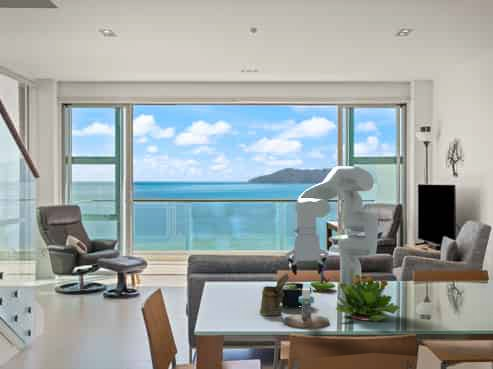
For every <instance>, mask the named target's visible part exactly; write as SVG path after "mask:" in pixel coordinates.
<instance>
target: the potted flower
mask: <svg viewBox="0 0 493 369" xmlns="http://www.w3.org/2000/svg"><path fill="white" fill-rule="evenodd" d="M358 277H359V278H358ZM360 278H361V280H360ZM353 283H354V284H356V285H355V286H357V287H355V286H354V285H352V287H351V285H346V284H345V283H344V284H343V283H341V284H340V283H339V289H340V288H342V289H343V292H344V293H345V297H346V302H345V301H344V300H342V299H341V298H340V296H336V298H337V300H339V301H340V302H341V303H342V304H343V305H344V306H341V305H340V306H336V308H335V310H336V311H339V312H341V313H345V314H349V315H350V317H351V318H352V319H353V318H355V319H354V320H356V319H371V320H370V321H372V320H374V321H373V322H379V321H381V320H383V319H387V318H388V317H389V316H388V314H387V313H389V314H392V315H395V313H396V311H397V310H399V309H400V306H399V305H394V304H395V303H394V302H391V300H392V298H393V297H392V296H391V295H386V294H383V292H384V290H386V289H385V288H386V286H388V285H389V283H388V280H387V279H380V281H379V280H378V279H377V280H375V281H374V280H373V277H369V276H368V277H367V276H366V274H365V273H363V274H362V273H361V277H360V275H355V280H353ZM360 283H361V284H360ZM340 286H341V287H340ZM390 302H391V303H390Z"/></svg>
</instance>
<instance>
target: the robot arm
mask: <svg viewBox="0 0 493 369" xmlns="http://www.w3.org/2000/svg"><path fill="white" fill-rule="evenodd" d="M374 180H375V179H374V177H373V175H372V173H371V172H370V171H367V169H366V170H365V169H363V168H362V167H359V166H356V165H355V166H354V165H353V166H352V165H351V166H350V165H349V166H345V165H344V166H342V165H341V166H335V167H333V168H332V169H331V170H330V172H329V173H328V174H327V175H326V177H325V178H324V179H323V181H322V182H321V183H318V184H316V185H313V186H311V187H310V188H307V189H306V190H304V191H303V192H302V193H301V195H299V197H298V199H297V200H296V202H295V205H294V211H295V214H296V228H293V233H296V234H295V237H294V244H293V245H294V246H293V249H292V250H289V251H288V252H286V253H285V254H284V255H285V257H286V259H287V260H288V262H289V263H290V265H291V267H292V268H291V269H292V274H293V275H294V276H297V274H298V272H297V270H298V268H297V267H298V266H297V263H298V262H299V261H300V262H302V261H303V262H304V261H307V262H308V261H310V262H311V261H317V263H316V264H317V267H316V268H317V273H318V274H317V275H321V272H322V264H323V263H325V262H326V261H327V258H328V256H329V255H330V253H329V252H327V251H325V250H324V249H321V243H320V236H319V234H317V218H324V217H326V216H328V215H329V213H330V211H331V205H330V202H329V200H333V199H334V198H336V197H338V195H339V194H340V193H341V195H342V199H343V213H342V214H343V215H342V226H343V229H344V230H345V231H347V232H350V233H364V235H361V234H360V235H359V234H358V235H357V234H344V235H341V236H340V237H339V239H338V242H337V248H338V254H339V286H340V284H341V283H343V284H344V283H345V284H346V285H351V287H352V285H354V286H355V285H356V284H354V283H353V280H355V275H360V277H361V276H362V264H361V261H360V260H359V259H358V258H359V257H363V258H372V257H374V256H375V255H376V253H377V250H378V249H377V248H378V235H379V220H378V216H377V214H376V213H375V212H373V211H365V210H364V211H363V207H364V206H363V204H364V200H363V197H362V196H361V194H360V193H359V192H369V191H371V190H372V189H373V187H374V183H375V181H374ZM321 254H323V256H322V258H321ZM292 255H293V259H292V258H291V256H292ZM358 278H359V277H358ZM360 280H361V281H362V279H361V278H360ZM360 284H362V283H360ZM340 287H341V286H340ZM340 287H339V297H340V298H341V299H342V300H344V301H345V302H346V297H345V293H344V292H343V289H342V288H340ZM355 287H357V286H355ZM336 305H337V306H338V305H339V306H340V307H341V306H342V307H345V306H344V305H343V304H342V303H341V302H340V301H339V299H337V300H336Z"/></svg>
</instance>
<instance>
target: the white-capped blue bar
mask: <svg viewBox="0 0 493 369" xmlns="http://www.w3.org/2000/svg"><path fill="white" fill-rule="evenodd" d="M302 284H303V289H302V296H300V297H299V303H304V304H310V303H311V304H313V303H315V297H314V296H311V294H310V287H311V285H310V284H311V283H302Z"/></svg>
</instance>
